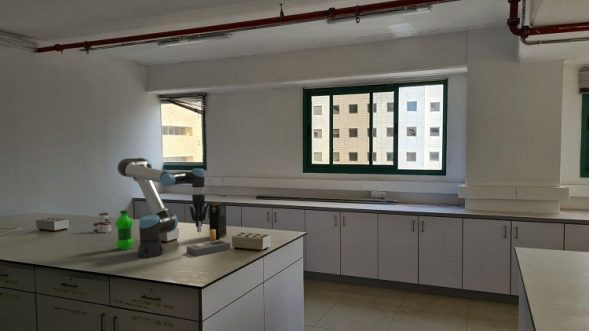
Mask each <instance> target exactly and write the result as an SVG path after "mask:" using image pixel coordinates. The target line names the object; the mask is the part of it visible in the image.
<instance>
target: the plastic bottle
mask: <svg viewBox="0 0 589 331" xmlns="http://www.w3.org/2000/svg"><path fill="white" fill-rule="evenodd" d="M119 214H120V216H119V217H118V218H117V219H116V220H115V228H116V229H117V241H116V246H117V247H118V248H119V249H120V250H129V249H130V248H132V246H133V244H134V241H133V238H132V227H133V225H134V221H133V219H132V218H131V217H130V216H128V210H127V209H122V210H120V212H119Z"/></svg>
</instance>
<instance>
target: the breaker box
mask: <svg viewBox="0 0 589 331" xmlns="http://www.w3.org/2000/svg"><path fill="white" fill-rule="evenodd" d="M201 244H204V245H205V247H200V248H197V247H195V245H196V244H193V245H187V246H186V254H189V255H191V256H193V257H201V256H204V255H205V256H206V255H210V254H211V255H212V254H216V253H220V252H223V251H228V250H229V251H230V250H231V242H227V241H224V240H222V239H217V240H216V241H213V242H210V241H208V242H204V243H203V242H202V243H201Z"/></svg>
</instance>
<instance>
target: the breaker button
mask: <svg viewBox="0 0 589 331" xmlns="http://www.w3.org/2000/svg"><path fill="white" fill-rule="evenodd" d="M194 245H195V247H197V248H200V247H205V245H204V244H202V243H198V244H194Z"/></svg>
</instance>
